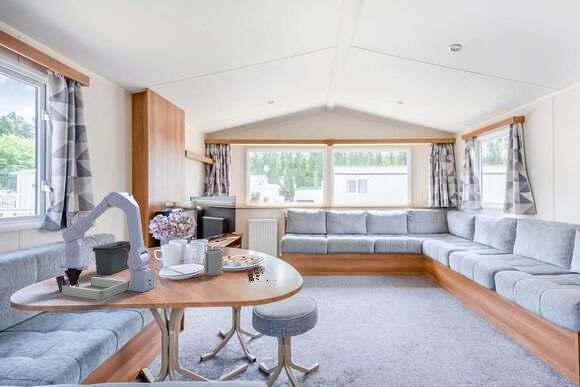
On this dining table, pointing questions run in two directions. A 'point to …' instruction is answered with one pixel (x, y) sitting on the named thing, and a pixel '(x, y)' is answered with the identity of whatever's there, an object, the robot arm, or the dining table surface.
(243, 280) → the dining table surface
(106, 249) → the storage bin
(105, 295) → the open box
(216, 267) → the cup
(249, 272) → the chocolate bar
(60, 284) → the game card
